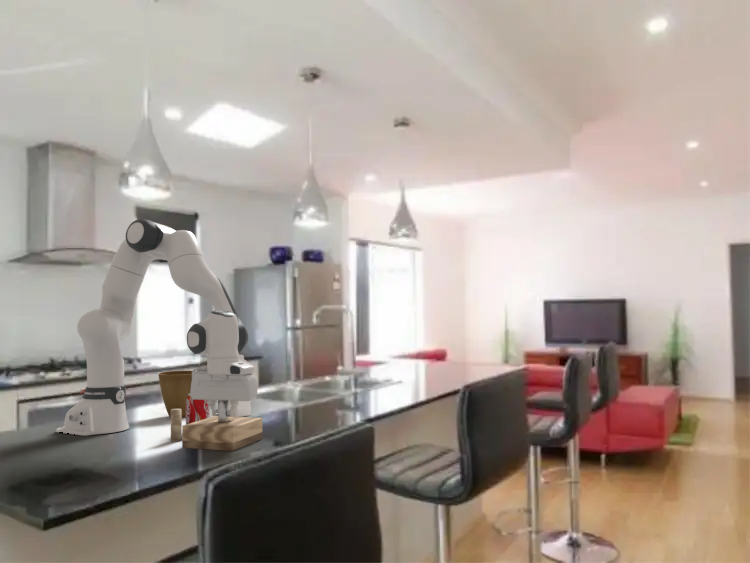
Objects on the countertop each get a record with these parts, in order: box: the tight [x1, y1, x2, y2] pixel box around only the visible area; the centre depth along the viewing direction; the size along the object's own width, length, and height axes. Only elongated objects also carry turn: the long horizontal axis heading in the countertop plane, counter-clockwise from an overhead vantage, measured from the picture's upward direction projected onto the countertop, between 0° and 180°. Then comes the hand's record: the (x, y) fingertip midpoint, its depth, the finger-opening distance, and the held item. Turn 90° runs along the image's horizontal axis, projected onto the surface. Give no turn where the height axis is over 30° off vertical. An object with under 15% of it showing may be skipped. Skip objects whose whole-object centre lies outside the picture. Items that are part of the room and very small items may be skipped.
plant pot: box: [158, 370, 193, 418], centre depth 220 cm, size 15×15×16 cm
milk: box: [229, 354, 252, 417], centre depth 219 cm, size 6×6×22 cm
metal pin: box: [217, 400, 229, 423], centre depth 171 cm, size 3×3×10 cm
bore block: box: [181, 416, 264, 452], centre depth 171 cm, size 16×16×6 cm
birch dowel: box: [170, 409, 183, 443], centre depth 176 cm, size 3×3×9 cm
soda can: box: [185, 394, 210, 425], centre depth 188 cm, size 7×7×12 cm
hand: (223, 416), depth 171 cm, fingers open, 3 cm apart
